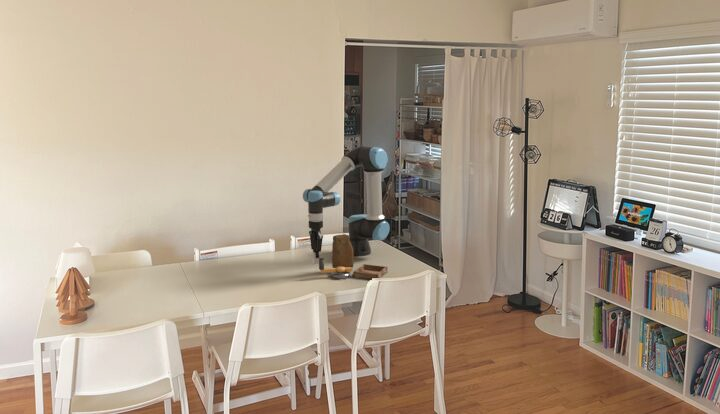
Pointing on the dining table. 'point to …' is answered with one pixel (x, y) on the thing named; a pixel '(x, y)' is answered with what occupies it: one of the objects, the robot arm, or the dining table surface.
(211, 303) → the dining table surface
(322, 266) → the crank
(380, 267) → the tray
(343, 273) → the crank base
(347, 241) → the block
